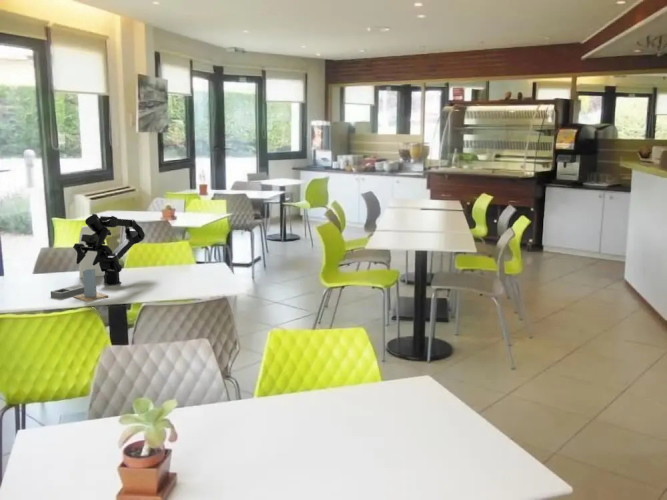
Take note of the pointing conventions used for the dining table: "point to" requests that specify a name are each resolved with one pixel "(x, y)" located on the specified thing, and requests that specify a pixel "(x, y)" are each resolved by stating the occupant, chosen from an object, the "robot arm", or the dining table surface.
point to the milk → (88, 255)
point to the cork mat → (83, 298)
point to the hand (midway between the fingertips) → (85, 264)
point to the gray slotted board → (68, 291)
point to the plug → (89, 283)
